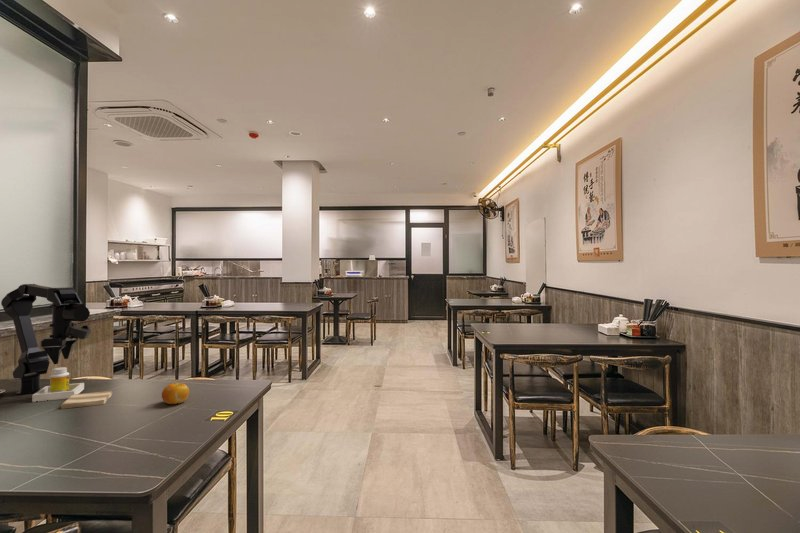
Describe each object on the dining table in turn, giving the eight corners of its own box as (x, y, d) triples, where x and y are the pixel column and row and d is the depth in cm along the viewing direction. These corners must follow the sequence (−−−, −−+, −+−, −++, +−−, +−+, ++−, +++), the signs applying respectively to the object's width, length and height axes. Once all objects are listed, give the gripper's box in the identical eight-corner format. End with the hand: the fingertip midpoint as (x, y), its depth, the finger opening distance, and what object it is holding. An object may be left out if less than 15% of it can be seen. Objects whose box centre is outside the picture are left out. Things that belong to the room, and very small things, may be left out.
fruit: (187, 396, 138) (181, 375, 141) (161, 407, 136) (155, 386, 138) (194, 400, 146) (188, 380, 149) (170, 411, 143) (164, 390, 146)
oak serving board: (73, 398, 146) (73, 394, 146) (112, 394, 151) (112, 390, 151) (61, 408, 135) (61, 404, 135) (103, 404, 140) (103, 400, 140)
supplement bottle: (68, 395, 149) (69, 368, 149) (49, 398, 146) (49, 370, 146) (69, 392, 153) (69, 365, 154) (50, 394, 150) (50, 368, 150)
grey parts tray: (45, 392, 152) (45, 386, 152) (84, 389, 157) (84, 382, 157) (32, 402, 141) (32, 395, 142) (73, 397, 146) (74, 391, 147)
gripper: (78, 322, 144) (77, 365, 144) (96, 316, 161) (95, 355, 161) (40, 323, 140) (39, 367, 139) (62, 317, 157) (61, 356, 157)
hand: (61, 361), depth 149 cm, fingers open, 9 cm apart
